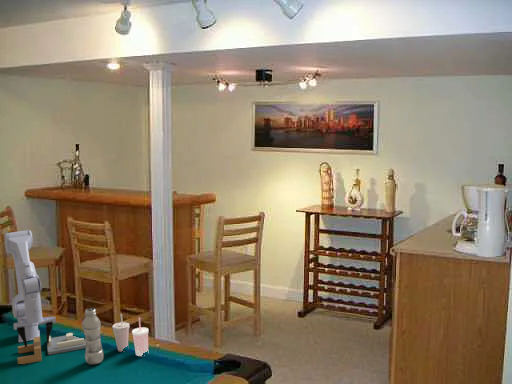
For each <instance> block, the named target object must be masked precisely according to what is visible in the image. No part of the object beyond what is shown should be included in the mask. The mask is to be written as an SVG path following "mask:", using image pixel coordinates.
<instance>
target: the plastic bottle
mask: <svg viewBox="0 0 512 384" xmlns="http://www.w3.org/2000/svg"><path fill="white" fill-rule="evenodd" d="M84 316H85V317H84V319H83V321H82V323H81V324H82V330H83V332H84V335H85V342H86V348H85V353H84V358H85V361H86V363H87V364H88V365H93V366H94V365H98V364H101V362H103V360H104V350H103V347H102V341H101V326H102V325H101V321H100V318H99V317H98V316H97V311H96V307H89V308H86V309H84Z"/></svg>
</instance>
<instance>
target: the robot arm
mask: <svg viewBox="0 0 512 384" xmlns="http://www.w3.org/2000/svg"><path fill="white" fill-rule="evenodd" d="M33 238H34V237H33V232H32V230H30V229H26V230H19V231H12V232H5V234H4V238H3V239H4V244H5V245H4V246H5V251H6V253H8V254H11V255H12V258H13V262H14V270H15V277H16V284H17V285H16V286H17V294H16V295H15V296H14V297H13V298H12V301H11V303H12V306H11V307H12V314H13V318H15V319H17V322H14V323H13V330H14V331H15V330H16V333H17V334H18V343H23V344H24V345H25V347H27V345H28V341H30V342H31V341H34V337H38V336H40V337H41V335H40V329H39V326H43V325H45V330H46V331H45V332H46V344H47V343H49V336H51V332H52V330H53V326H54V324H56V323H57V322H56V317H55V316H48V317H47V316H46V317H45V316H44V317H43V310H42V301H41V292H42V283H41V280H40V276H39V275H38V274H37V271H36V267H35V264H34V262H32V261H31V259H30V253H29V252H30V251H29V250H32V249H31V248H32V246H33V244H34V243H33V242H34V240H33ZM24 345H23V346H24Z"/></svg>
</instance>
